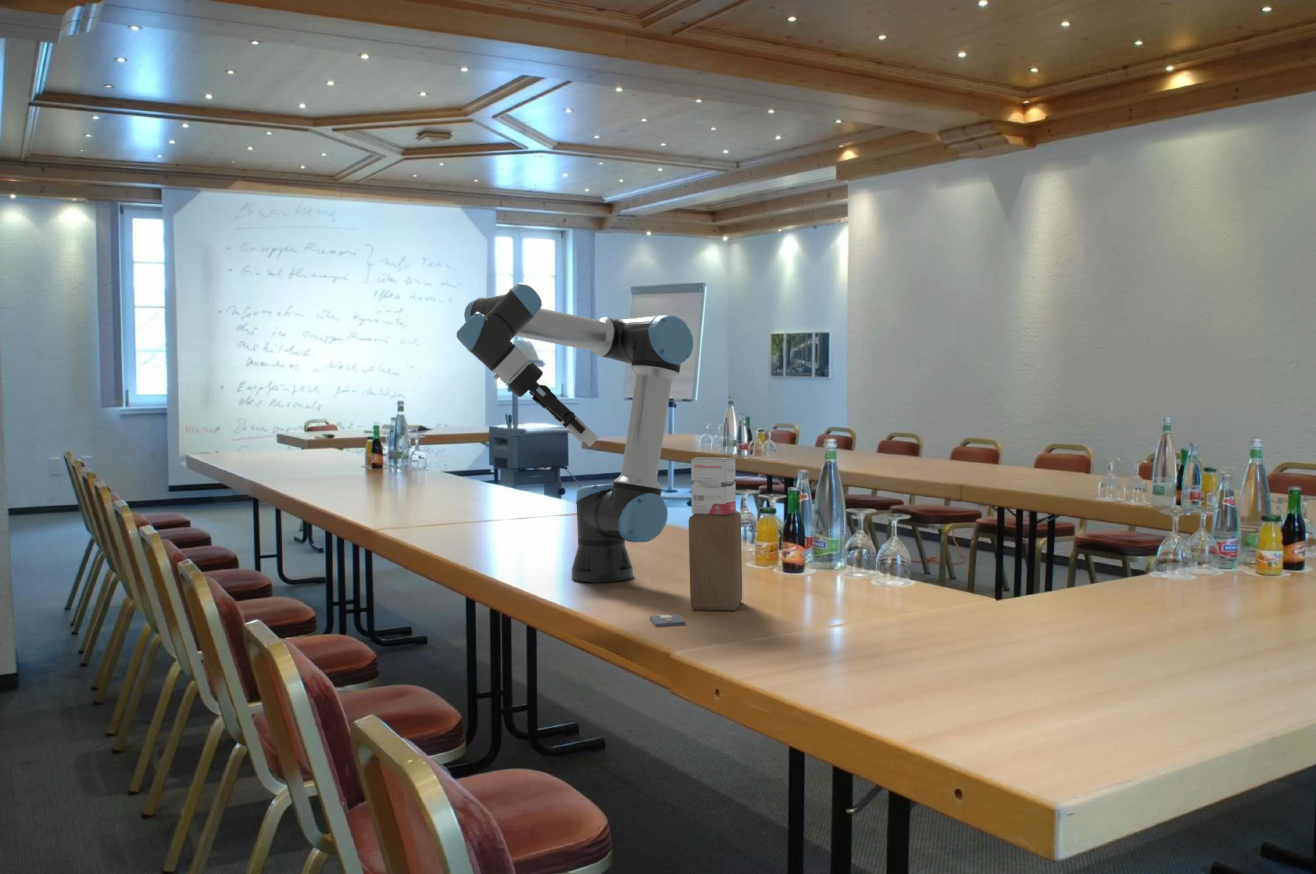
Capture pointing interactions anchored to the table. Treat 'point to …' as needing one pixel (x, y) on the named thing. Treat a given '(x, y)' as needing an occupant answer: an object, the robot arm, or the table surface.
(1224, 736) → the table surface
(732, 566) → the block
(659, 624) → the card
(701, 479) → the ink box
